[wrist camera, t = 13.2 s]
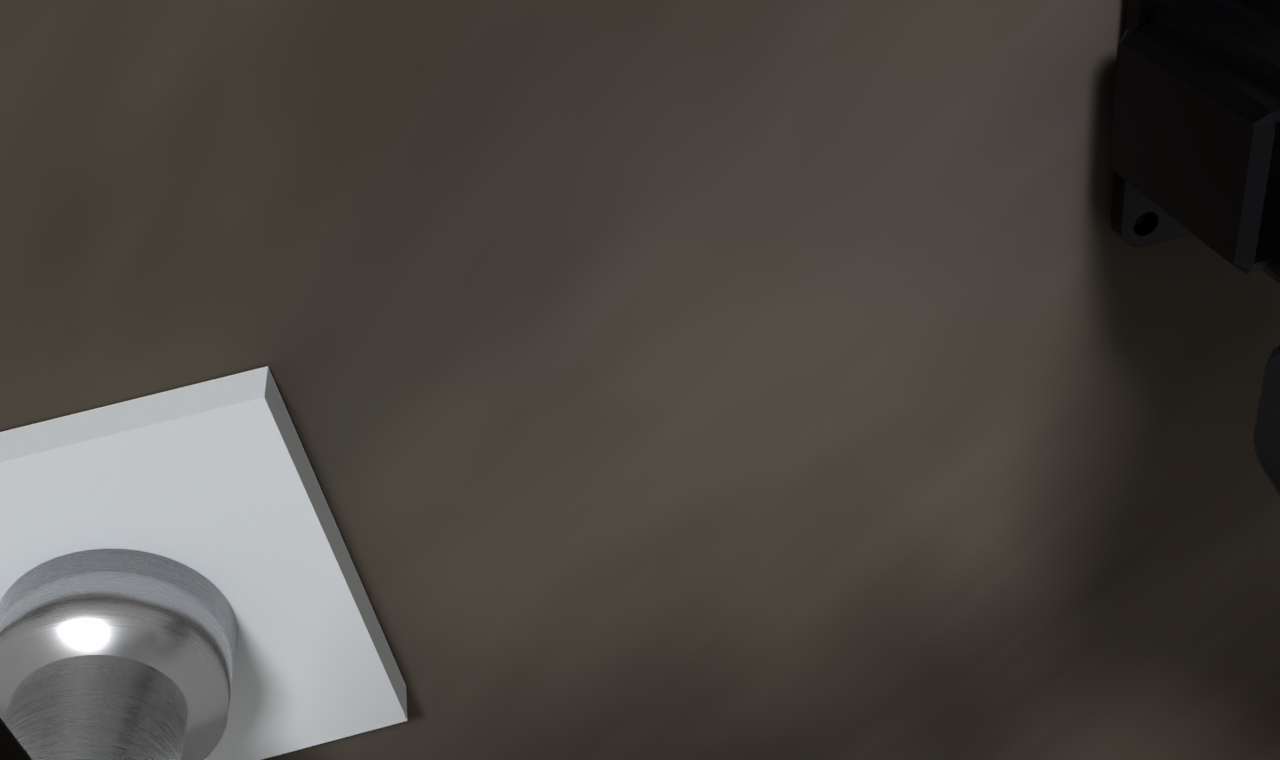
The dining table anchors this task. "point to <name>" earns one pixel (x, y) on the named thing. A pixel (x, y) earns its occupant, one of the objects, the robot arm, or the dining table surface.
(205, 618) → the silver metal peg
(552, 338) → the dining table surface
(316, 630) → the rubber mat
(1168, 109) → the robot arm
